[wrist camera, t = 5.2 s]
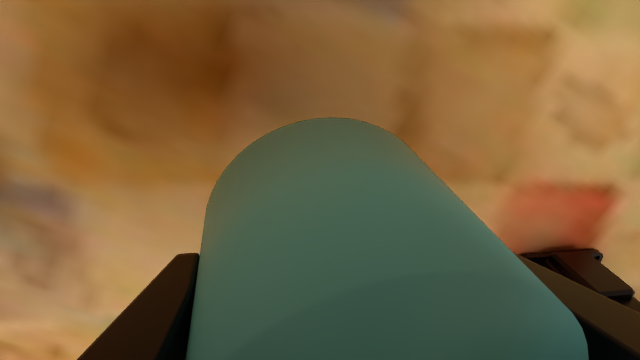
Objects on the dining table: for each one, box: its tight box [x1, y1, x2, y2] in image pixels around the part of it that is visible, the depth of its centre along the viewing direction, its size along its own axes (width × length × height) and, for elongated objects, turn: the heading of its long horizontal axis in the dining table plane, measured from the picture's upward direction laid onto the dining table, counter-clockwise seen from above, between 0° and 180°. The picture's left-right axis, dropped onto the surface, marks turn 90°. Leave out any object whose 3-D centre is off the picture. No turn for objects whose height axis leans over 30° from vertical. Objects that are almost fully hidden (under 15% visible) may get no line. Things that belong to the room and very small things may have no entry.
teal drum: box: [186, 118, 589, 360], centre depth 8 cm, size 6×6×5 cm
